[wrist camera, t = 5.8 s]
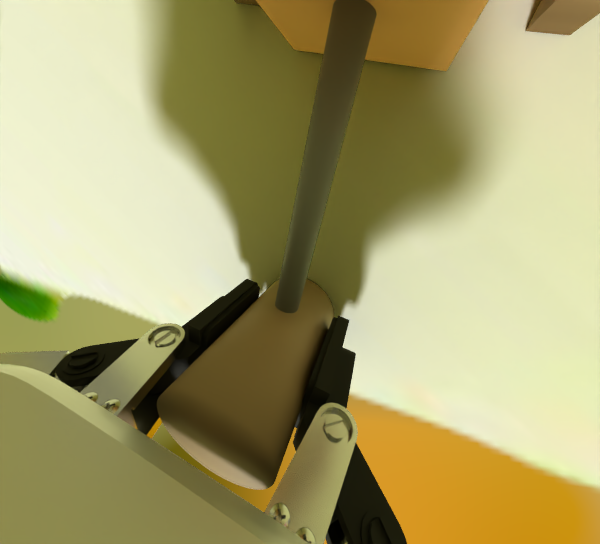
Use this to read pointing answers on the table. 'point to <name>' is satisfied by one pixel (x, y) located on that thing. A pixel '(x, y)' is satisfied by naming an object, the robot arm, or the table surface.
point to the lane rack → (549, 15)
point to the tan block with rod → (300, 241)
